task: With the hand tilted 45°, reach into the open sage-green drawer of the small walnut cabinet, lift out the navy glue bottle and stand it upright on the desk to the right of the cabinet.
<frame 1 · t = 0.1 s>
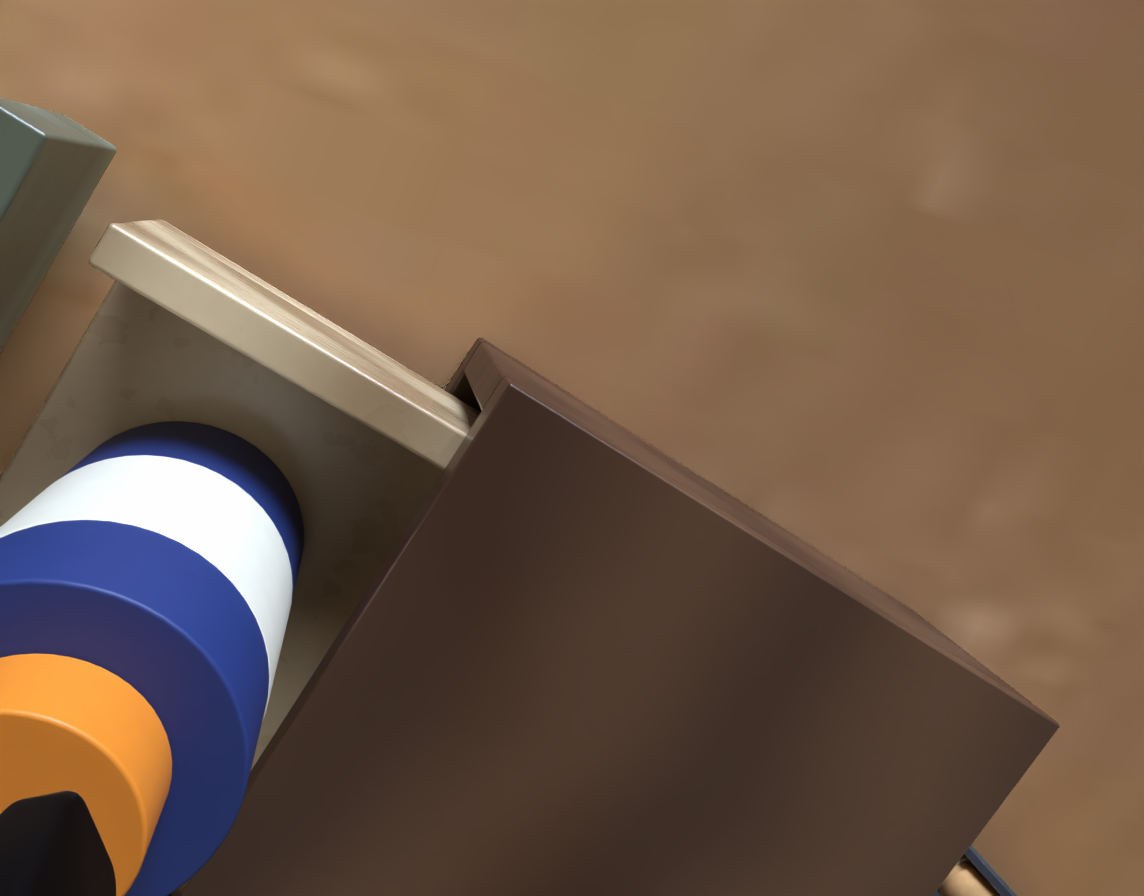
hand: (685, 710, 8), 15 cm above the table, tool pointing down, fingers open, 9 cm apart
cabinet: (567, 698, 25), on the table
glue bottle: (183, 535, 20), point 2 cm above the table, touching drawer
drawer: (89, 509, 19), point 3 cm above the table, slide at 8.0 cm, touching glue bottle
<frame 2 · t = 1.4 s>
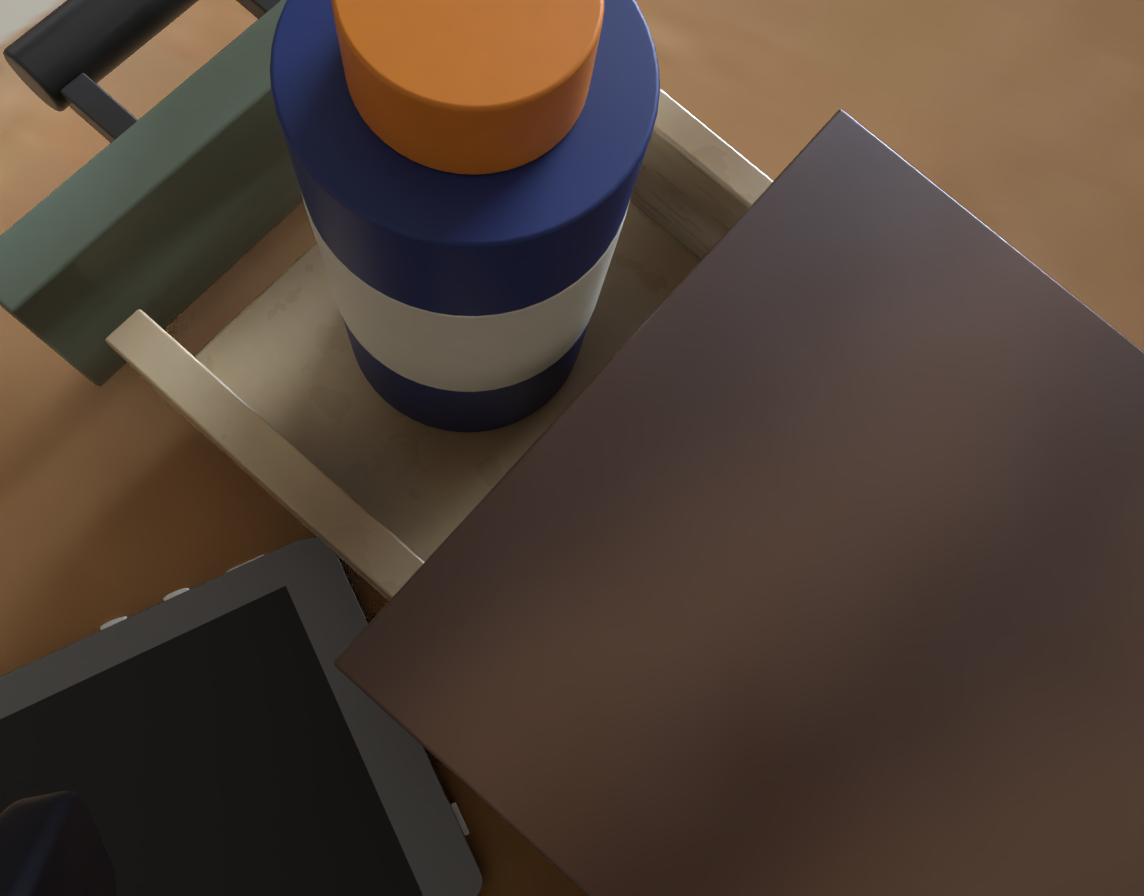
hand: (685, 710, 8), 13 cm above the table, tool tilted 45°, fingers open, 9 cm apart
smartphone: (61, 876, 20), on the table
cabinet: (807, 647, 22), on the table
glue bottle: (467, 321, 20), point 2 cm above the table, touching drawer
drawer: (403, 248, 20), point 3 cm above the table, slide at 8.0 cm, touching glue bottle
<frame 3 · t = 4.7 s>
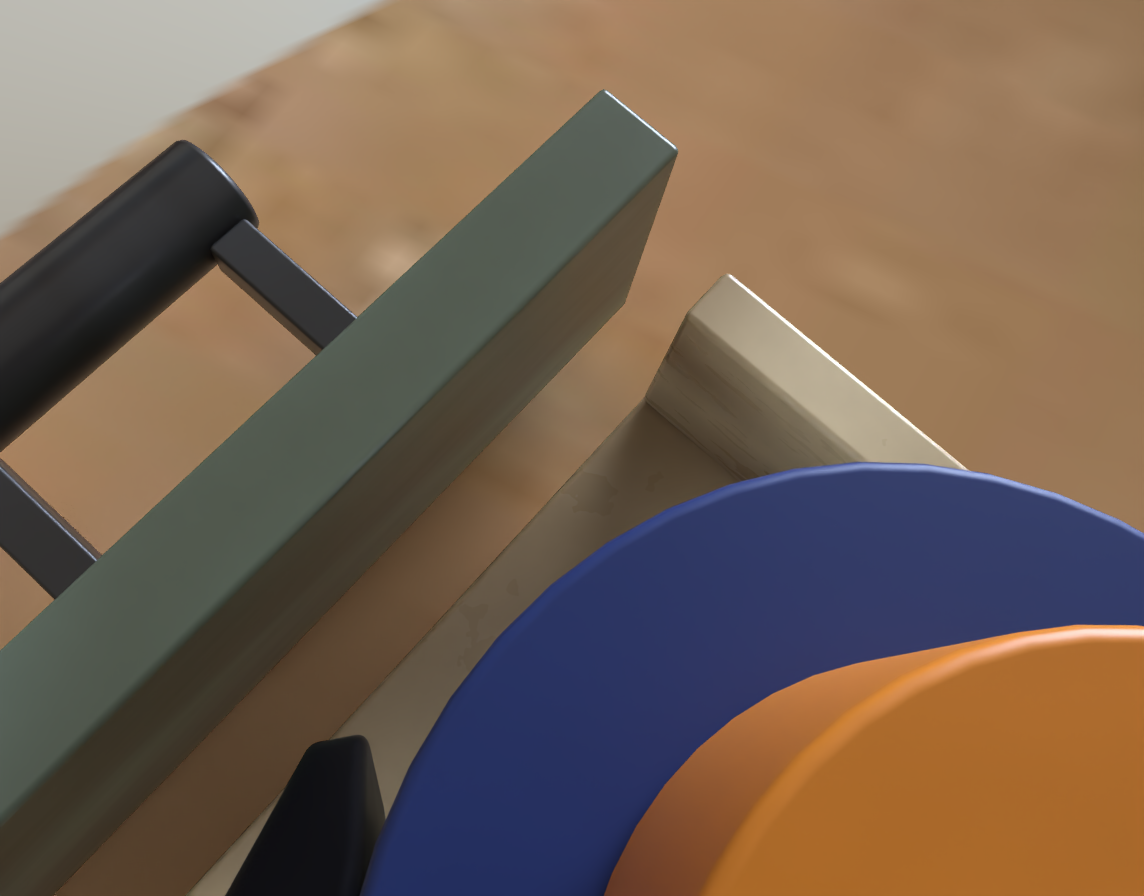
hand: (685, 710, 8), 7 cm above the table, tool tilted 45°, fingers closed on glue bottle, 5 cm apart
glue bottle: (625, 836, 12), point 2 cm above the table, touching drawer, gripper
drawer: (526, 741, 11), point 3 cm above the table, slide at 8.0 cm, touching glue bottle
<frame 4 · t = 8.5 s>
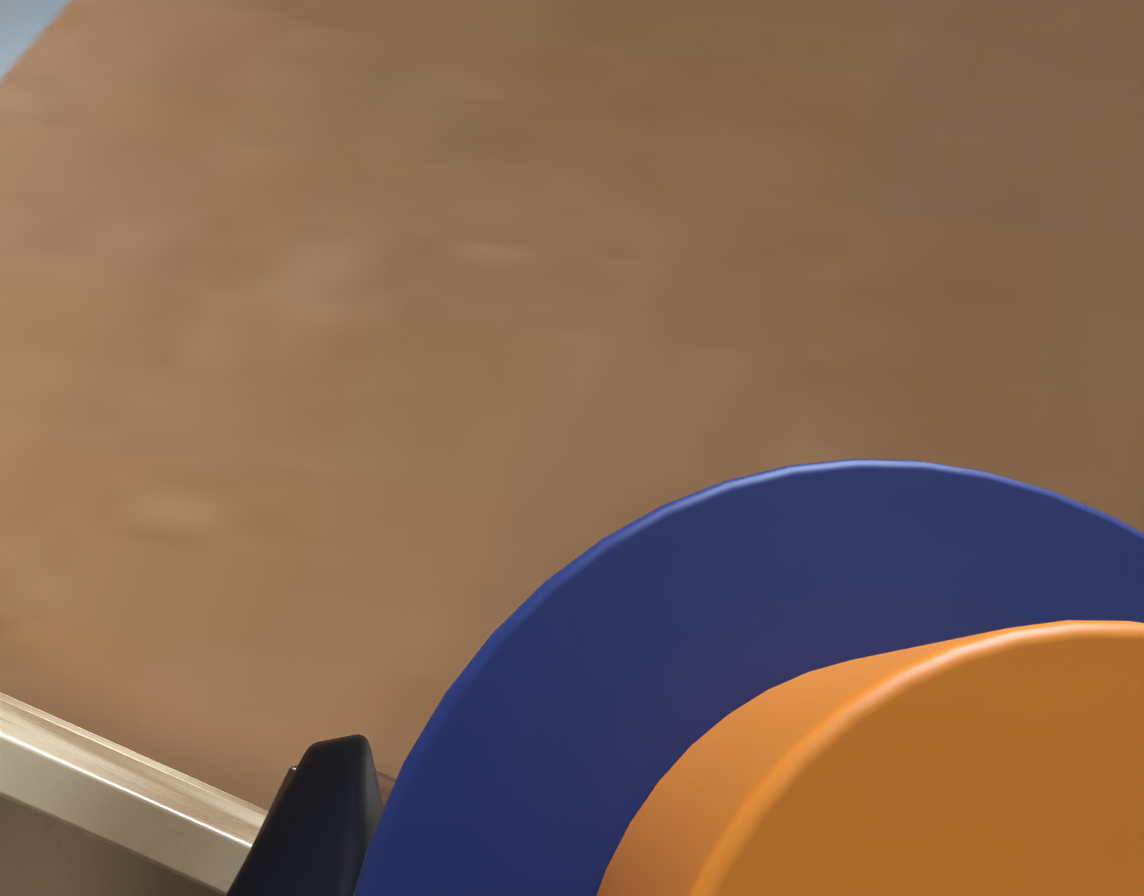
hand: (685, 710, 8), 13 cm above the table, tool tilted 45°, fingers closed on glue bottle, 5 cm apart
glue bottle: (623, 835, 12), point 8 cm above the table, touching gripper
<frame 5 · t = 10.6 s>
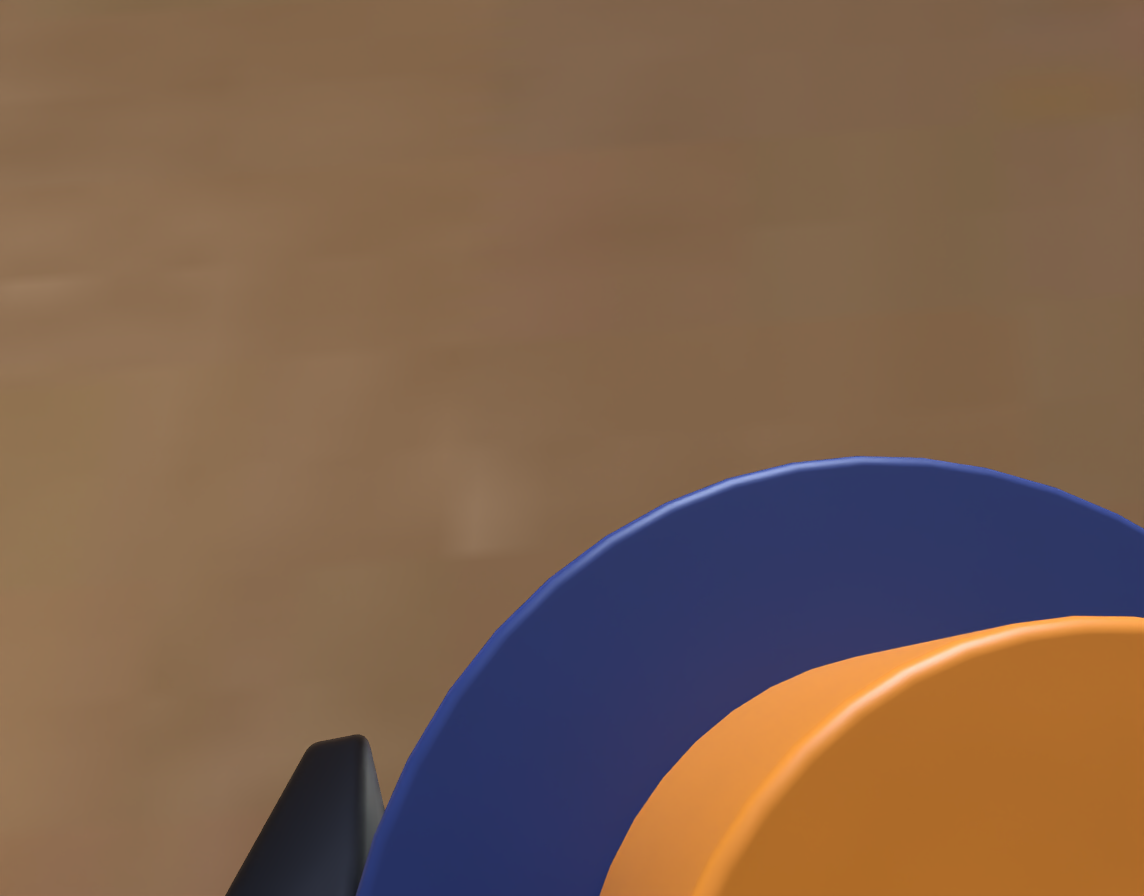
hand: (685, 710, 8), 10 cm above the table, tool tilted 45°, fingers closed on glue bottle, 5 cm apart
glue bottle: (624, 834, 12), point 5 cm above the table, touching gripper
when the fingers open (5 cm above the table, at t = 12.5 s): glue bottle stays where it is, on the table.
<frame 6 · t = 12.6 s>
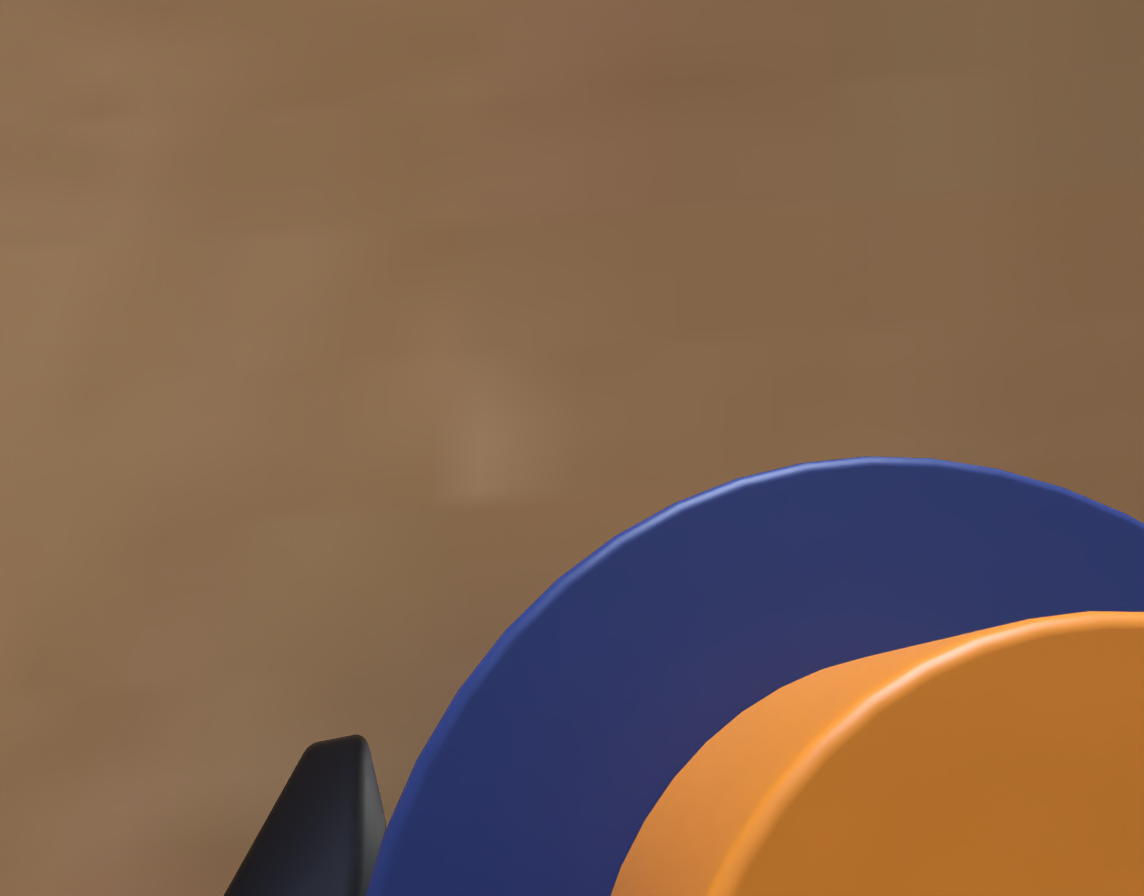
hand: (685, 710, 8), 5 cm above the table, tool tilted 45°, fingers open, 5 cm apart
glue bottle: (627, 843, 12), on the table
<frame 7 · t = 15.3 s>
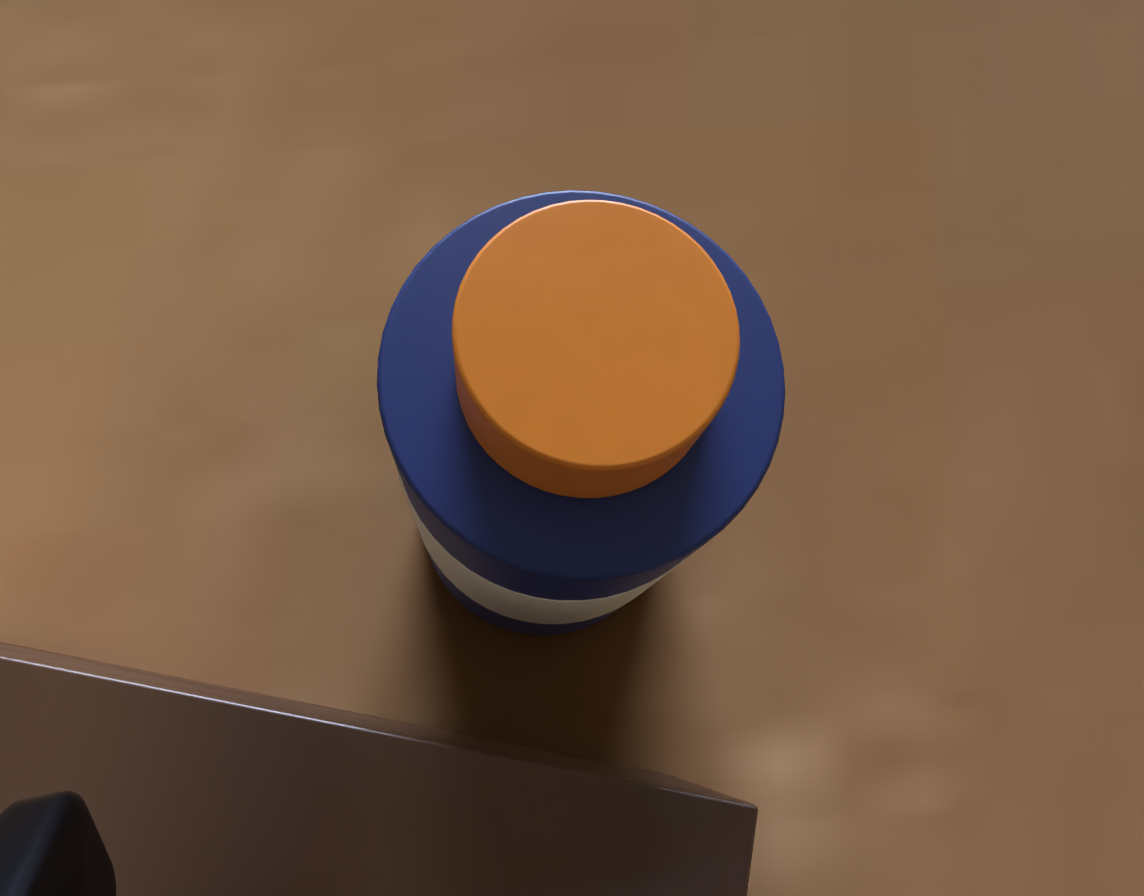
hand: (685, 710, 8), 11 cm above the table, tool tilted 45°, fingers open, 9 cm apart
glue bottle: (543, 514, 20), on the table
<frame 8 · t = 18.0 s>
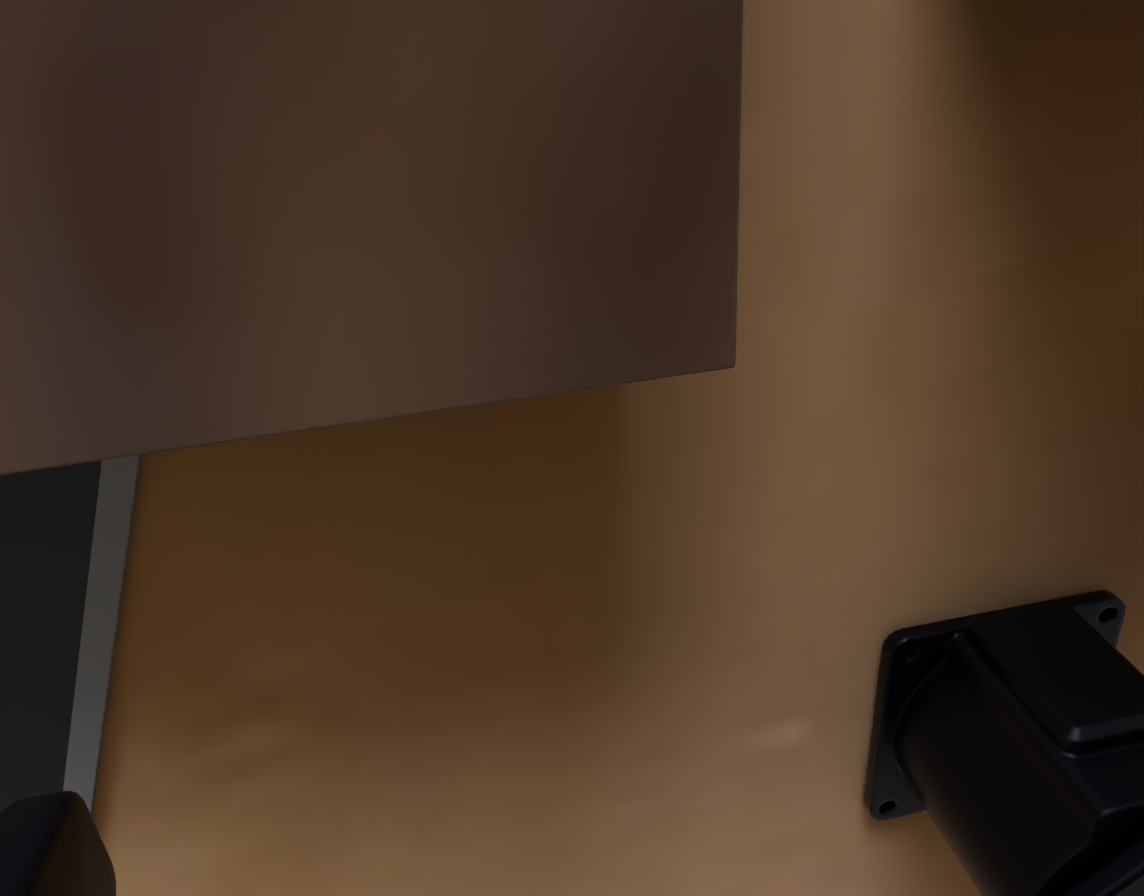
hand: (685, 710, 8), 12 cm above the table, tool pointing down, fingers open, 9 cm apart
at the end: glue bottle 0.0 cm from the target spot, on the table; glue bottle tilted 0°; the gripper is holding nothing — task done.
